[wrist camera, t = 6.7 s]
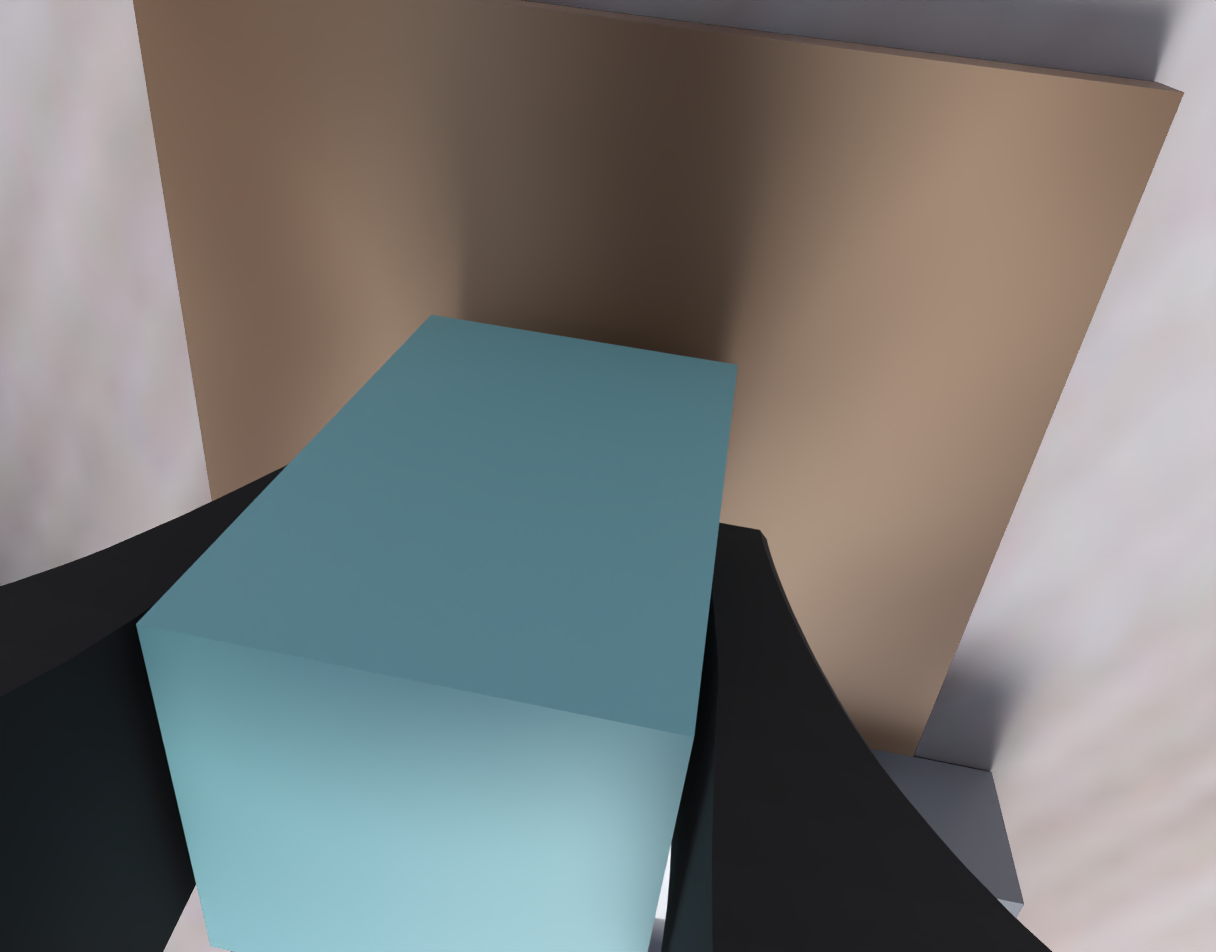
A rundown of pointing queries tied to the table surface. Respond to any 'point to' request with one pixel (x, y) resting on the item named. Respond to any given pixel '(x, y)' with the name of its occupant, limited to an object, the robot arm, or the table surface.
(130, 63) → the table surface
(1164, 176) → the table surface
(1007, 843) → the pocket plate
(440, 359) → the teal block
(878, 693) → the walnut board
